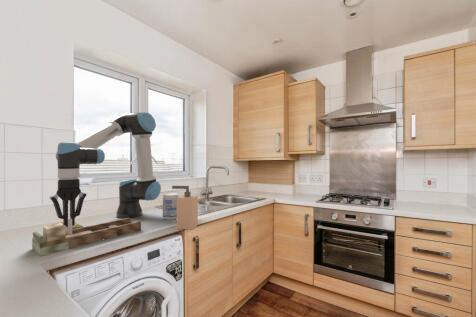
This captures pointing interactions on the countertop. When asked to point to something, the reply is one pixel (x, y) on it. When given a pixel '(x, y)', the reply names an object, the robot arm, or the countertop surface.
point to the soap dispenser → (186, 209)
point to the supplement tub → (170, 206)
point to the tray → (84, 236)
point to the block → (54, 232)
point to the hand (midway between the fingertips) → (69, 233)
